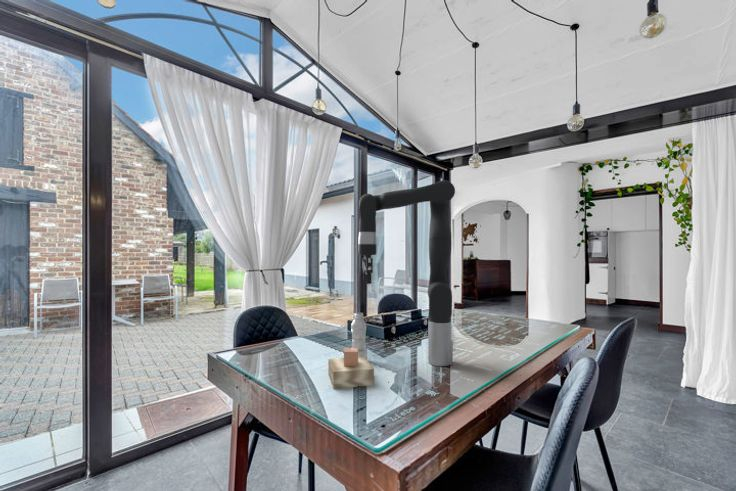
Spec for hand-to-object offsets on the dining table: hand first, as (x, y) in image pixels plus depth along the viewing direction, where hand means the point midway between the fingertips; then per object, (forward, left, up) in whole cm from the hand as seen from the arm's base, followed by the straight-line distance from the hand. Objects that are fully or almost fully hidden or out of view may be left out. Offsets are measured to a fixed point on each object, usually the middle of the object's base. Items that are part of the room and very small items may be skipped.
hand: (367, 282), depth 140 cm
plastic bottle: (+3, -4, -33) cm, 34 cm away
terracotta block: (+8, +16, -28) cm, 33 cm away
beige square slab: (+8, +16, -34) cm, 38 cm away
